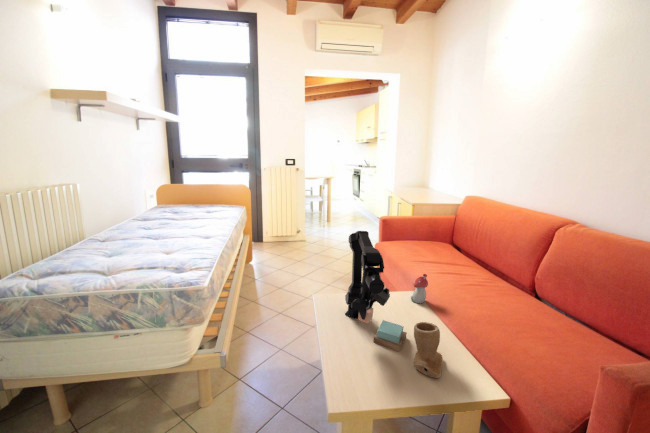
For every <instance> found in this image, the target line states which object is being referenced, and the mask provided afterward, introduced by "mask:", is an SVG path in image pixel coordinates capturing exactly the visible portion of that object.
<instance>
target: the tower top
mask: <svg viewBox="0 0 650 433" xmlns="http://www.w3.org/2000/svg"><path fill="white" fill-rule="evenodd" d="M403 332H404V326H403V325H400V324H399V323H398V324H397V323H394V322H392V321H391V322H390V321H388V320H384V319H382V321H381V323H380V325H379V327H378V328H377V332H376V333H377V337H379V338H382V339H385V340H388V341H391V342H394V343H397V344H398V343H399V341H400V338H401V336H402V333H403Z"/></svg>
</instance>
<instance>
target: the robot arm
mask: <svg viewBox="0 0 650 433" xmlns="http://www.w3.org/2000/svg"><path fill="white" fill-rule="evenodd" d="M348 244H349V248H350V250H351V251H352V264H351V268H352V269H351V271H352V272H351V283H350V285H349V286H348V290H347V292H346V294H345V295H344V296H345V297H344V299H345V304H346V305H347V311H346V312H345V313H344V314H345V316H348V317H351V318H354V319H357V320H358V315H359V313H360V316H361V318H362V319H363V320H365V317H366V313H367V310H369V309H370V308H373V307H374V306H373V305H374V303H379V305H380V306H385V304H387V303H388V301H389V299H390V297H391V293H390V289H389V288H388V287H385V282H384V281H383V279H382V278H381V275H380V273H381V274H382V273H384V270H385V262H384V258H383V256H382V254H381V252H380V251H379V249H377V248H375V247H374V245H373V243H372V241H371V238H370V235H369V232H368V231H366V230H358V231H356V232H352V233H351V234H349V236H348Z"/></svg>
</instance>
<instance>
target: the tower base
mask: <svg viewBox="0 0 650 433" xmlns="http://www.w3.org/2000/svg"><path fill="white" fill-rule="evenodd" d="M407 333H408V332H406V331H403V333H402V336H401V338H400V341H399V343H398V344H397V343H394V342H391V341H388V340H385V339H382V338H379V337H377V332H376V333H375V334H374V336H373V340H372V342H373V343H376V344H378V345H381V346H383V347H386V348H388V349H392V350H394V351H397V352H401V348H402V346H403V344H404V343H405V341H406V338H407Z"/></svg>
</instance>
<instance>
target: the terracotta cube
mask: <svg viewBox="0 0 650 433" xmlns="http://www.w3.org/2000/svg"><path fill="white" fill-rule="evenodd" d="M373 316H374V308H373V307H372V308H370V309H369V310H367V313H366V317H365V320H363V319H362V318H361V316H360V313H359V315H358V318H357V320H358V321H360V322H363V323H366V324H369V323H370V322H371V321H372V320H373Z"/></svg>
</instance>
